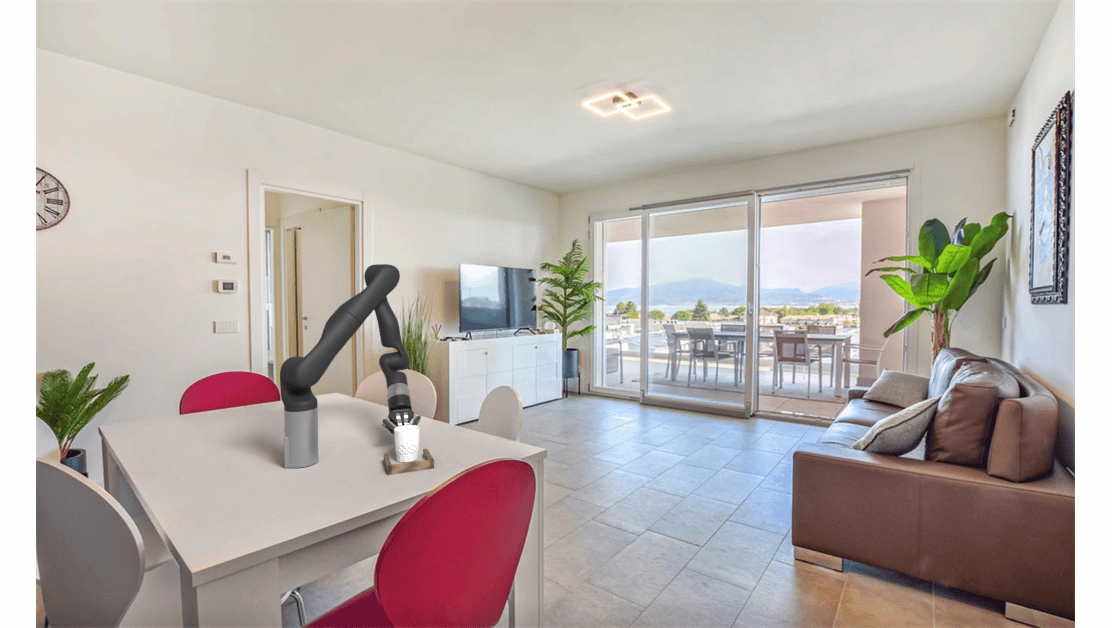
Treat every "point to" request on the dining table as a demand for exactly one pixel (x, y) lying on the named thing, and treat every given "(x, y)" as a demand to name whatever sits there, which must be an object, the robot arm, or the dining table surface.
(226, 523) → the dining table surface
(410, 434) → the white cup
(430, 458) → the wooden bracket
